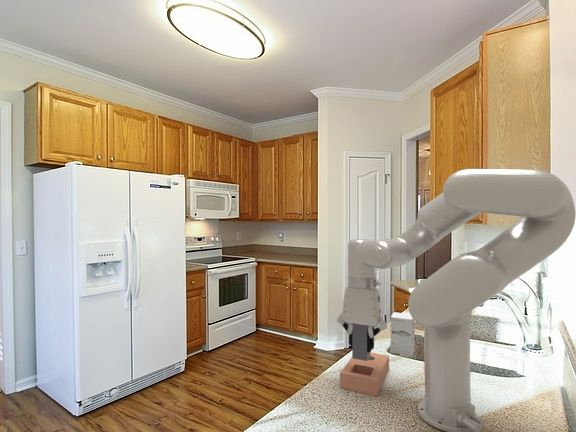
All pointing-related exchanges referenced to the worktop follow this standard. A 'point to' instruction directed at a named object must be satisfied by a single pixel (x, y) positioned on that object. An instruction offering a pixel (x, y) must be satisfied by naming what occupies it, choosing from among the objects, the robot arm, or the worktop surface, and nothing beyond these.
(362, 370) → the bore block
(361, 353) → the square peg
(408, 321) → the supplement box
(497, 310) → the worktop surface
